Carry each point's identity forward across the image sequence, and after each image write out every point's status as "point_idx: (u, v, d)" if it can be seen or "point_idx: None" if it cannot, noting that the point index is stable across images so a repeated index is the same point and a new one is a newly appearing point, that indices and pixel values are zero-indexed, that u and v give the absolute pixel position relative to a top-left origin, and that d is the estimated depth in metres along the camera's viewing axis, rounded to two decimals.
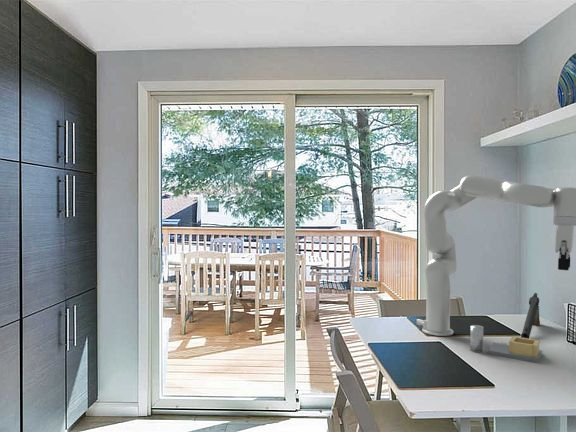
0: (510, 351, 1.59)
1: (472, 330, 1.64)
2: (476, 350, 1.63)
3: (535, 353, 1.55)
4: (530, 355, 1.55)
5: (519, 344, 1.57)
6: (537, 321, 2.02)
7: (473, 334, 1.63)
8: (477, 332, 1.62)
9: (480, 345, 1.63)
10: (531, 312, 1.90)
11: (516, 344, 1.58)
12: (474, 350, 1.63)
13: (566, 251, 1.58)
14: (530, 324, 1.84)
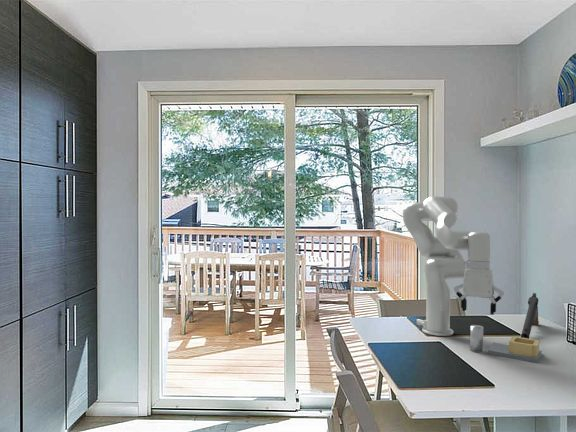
0: (510, 351, 1.59)
1: (472, 330, 1.64)
2: (476, 350, 1.63)
3: (535, 353, 1.55)
4: (530, 355, 1.55)
5: (519, 344, 1.57)
6: (536, 321, 2.02)
7: (473, 334, 1.63)
8: (477, 332, 1.62)
9: (480, 345, 1.63)
10: (530, 312, 1.90)
11: (516, 344, 1.58)
12: (474, 350, 1.63)
13: (492, 295, 1.62)
14: (530, 324, 1.83)
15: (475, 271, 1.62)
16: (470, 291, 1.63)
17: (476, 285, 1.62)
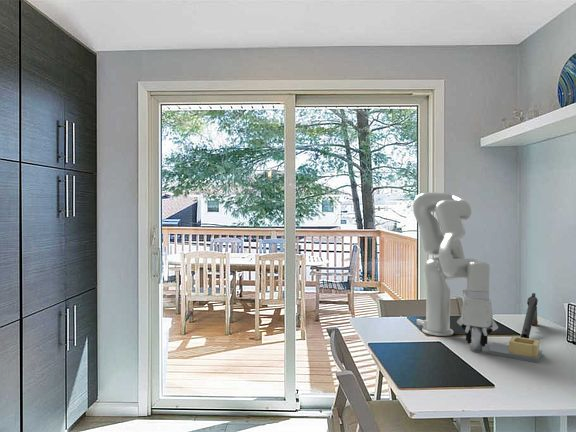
0: (510, 351, 1.59)
1: (472, 330, 1.64)
2: (476, 350, 1.63)
3: (535, 353, 1.55)
4: (530, 355, 1.55)
5: (519, 344, 1.57)
6: (535, 321, 2.01)
7: (473, 334, 1.63)
8: (477, 332, 1.62)
9: (480, 345, 1.63)
10: (530, 312, 1.90)
11: (516, 344, 1.58)
12: (474, 350, 1.63)
13: None
14: (529, 324, 1.83)
15: (474, 300, 1.63)
16: (469, 320, 1.63)
17: (474, 315, 1.62)
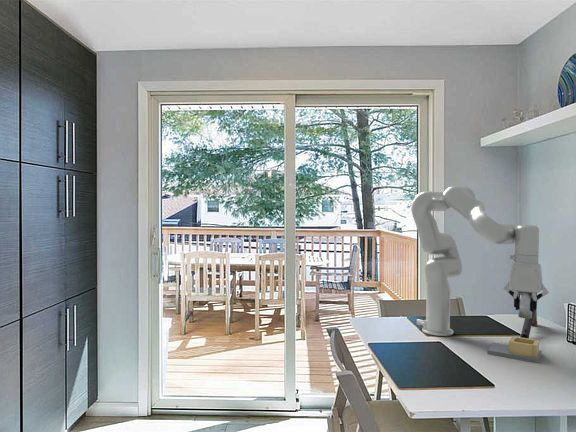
0: (510, 351, 1.59)
1: (521, 296, 1.59)
2: (525, 316, 1.58)
3: (535, 353, 1.55)
4: (530, 355, 1.55)
5: (519, 344, 1.57)
6: (535, 321, 2.01)
7: (522, 300, 1.58)
8: (527, 297, 1.58)
9: (529, 311, 1.58)
10: None
11: (516, 344, 1.58)
12: (523, 316, 1.58)
13: None
14: (529, 325, 1.82)
15: (523, 265, 1.58)
16: (517, 286, 1.59)
17: (524, 279, 1.58)
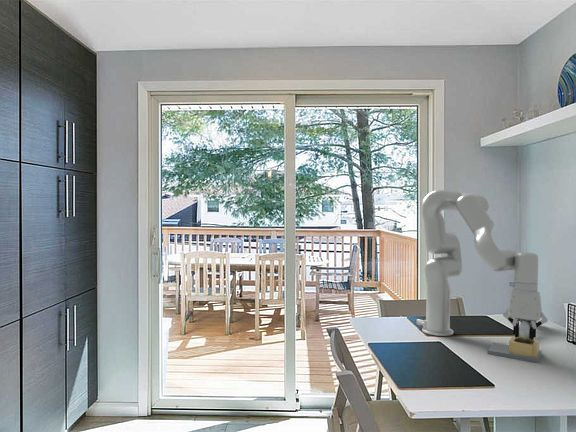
0: (510, 351, 1.59)
1: (520, 323, 1.59)
2: None
3: (535, 353, 1.55)
4: (530, 355, 1.55)
5: (519, 344, 1.57)
6: None
7: (521, 327, 1.59)
8: (526, 325, 1.58)
9: (529, 338, 1.58)
10: None
11: (516, 344, 1.58)
12: None
13: None
14: None
15: (522, 293, 1.58)
16: (517, 313, 1.59)
17: (523, 307, 1.58)
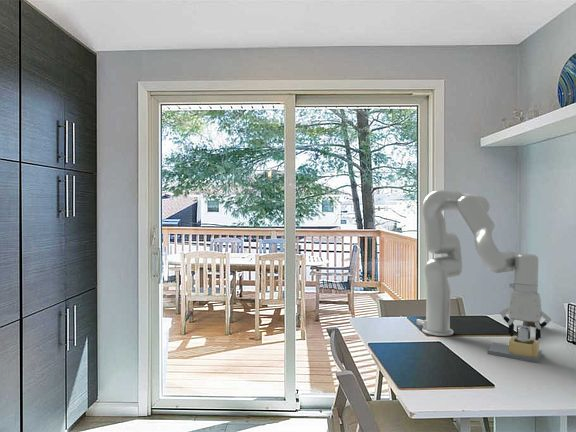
0: (510, 351, 1.59)
1: (519, 331, 1.59)
2: None
3: (535, 353, 1.55)
4: (530, 355, 1.55)
5: (519, 344, 1.57)
6: (533, 322, 2.01)
7: (520, 335, 1.59)
8: (525, 333, 1.58)
9: None
10: None
11: (516, 344, 1.58)
12: None
13: None
14: (528, 325, 1.82)
15: (522, 294, 1.58)
16: (517, 315, 1.59)
17: (523, 309, 1.58)
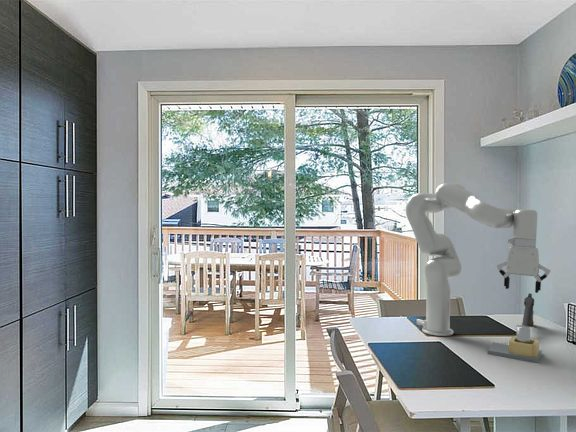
0: (510, 351, 1.59)
1: (519, 331, 1.59)
2: None
3: (535, 353, 1.55)
4: (530, 355, 1.55)
5: (519, 344, 1.57)
6: (531, 322, 2.01)
7: (520, 335, 1.59)
8: (525, 333, 1.58)
9: None
10: (527, 313, 1.88)
11: (516, 344, 1.58)
12: None
13: (537, 273, 1.60)
14: (528, 325, 1.82)
15: (520, 248, 1.60)
16: (515, 269, 1.61)
17: (521, 263, 1.60)
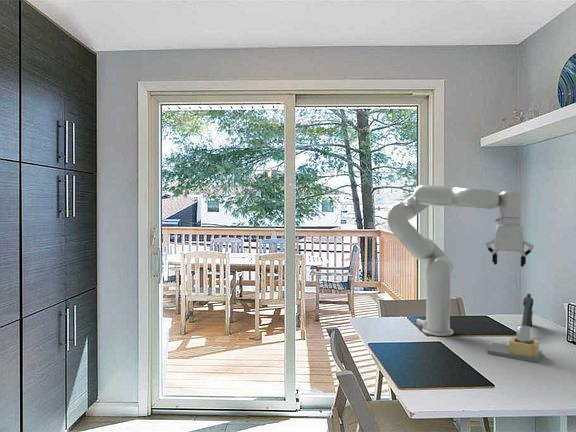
0: (510, 351, 1.59)
1: (519, 330, 1.59)
2: None
3: (535, 353, 1.55)
4: (530, 355, 1.55)
5: (519, 344, 1.57)
6: (530, 322, 2.00)
7: (520, 334, 1.59)
8: (525, 332, 1.58)
9: None
10: (527, 313, 1.88)
11: (516, 344, 1.58)
12: None
13: (522, 249, 1.74)
14: (527, 325, 1.81)
15: (506, 226, 1.75)
16: (501, 245, 1.75)
17: (507, 239, 1.74)
